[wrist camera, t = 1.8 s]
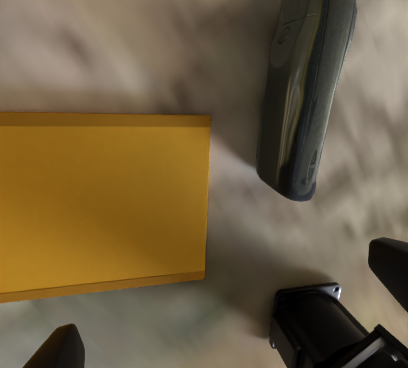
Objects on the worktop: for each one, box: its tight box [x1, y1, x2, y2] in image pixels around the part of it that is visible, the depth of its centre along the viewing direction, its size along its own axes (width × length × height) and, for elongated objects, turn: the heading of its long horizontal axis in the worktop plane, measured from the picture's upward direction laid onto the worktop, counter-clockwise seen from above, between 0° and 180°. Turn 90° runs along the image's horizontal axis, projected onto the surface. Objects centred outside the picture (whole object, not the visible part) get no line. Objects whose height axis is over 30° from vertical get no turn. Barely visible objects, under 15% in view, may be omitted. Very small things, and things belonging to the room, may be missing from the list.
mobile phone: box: [257, 0, 357, 201], centre depth 17 cm, size 5×3×15 cm
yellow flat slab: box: [0, 112, 211, 303], centre depth 19 cm, size 20×13×1 cm, turn 88°
